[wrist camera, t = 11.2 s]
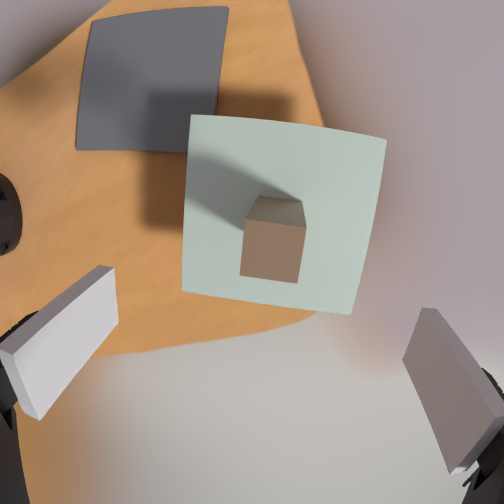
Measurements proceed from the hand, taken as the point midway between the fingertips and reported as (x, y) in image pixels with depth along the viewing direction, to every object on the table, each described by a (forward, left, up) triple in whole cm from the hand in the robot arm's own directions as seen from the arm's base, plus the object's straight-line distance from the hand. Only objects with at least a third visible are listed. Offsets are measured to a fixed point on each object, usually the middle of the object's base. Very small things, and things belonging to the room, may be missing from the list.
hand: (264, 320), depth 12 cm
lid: (0, 0, -19) cm, 19 cm away
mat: (-19, +15, -28) cm, 37 cm away
